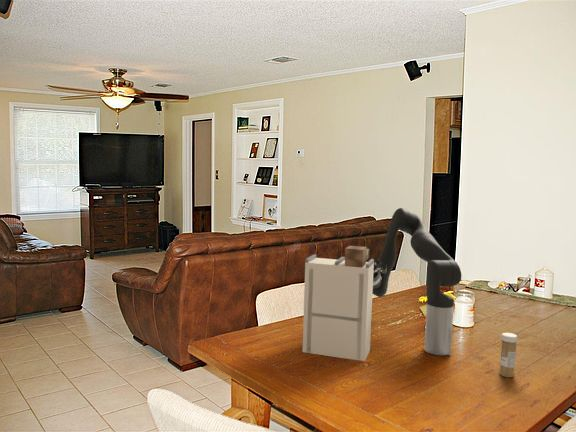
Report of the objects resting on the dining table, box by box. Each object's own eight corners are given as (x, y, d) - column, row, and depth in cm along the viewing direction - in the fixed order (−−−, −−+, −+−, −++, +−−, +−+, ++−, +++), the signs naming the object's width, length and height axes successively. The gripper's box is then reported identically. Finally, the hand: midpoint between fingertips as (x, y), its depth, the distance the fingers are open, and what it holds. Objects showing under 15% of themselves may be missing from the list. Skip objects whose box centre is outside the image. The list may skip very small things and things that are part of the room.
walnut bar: (372, 257, 191) (373, 241, 190) (362, 267, 171) (363, 249, 170) (356, 256, 193) (357, 240, 192) (344, 266, 173) (345, 248, 172)
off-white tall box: (369, 350, 183) (374, 259, 180) (364, 361, 173) (368, 264, 170) (310, 342, 190) (313, 254, 187) (302, 352, 180) (305, 259, 177)
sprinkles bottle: (496, 372, 167) (499, 332, 165) (509, 372, 167) (512, 332, 166) (503, 378, 162) (506, 336, 161) (517, 377, 163) (520, 336, 161)
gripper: (354, 264, 213) (349, 249, 199) (389, 267, 209) (385, 252, 195) (352, 281, 210) (346, 268, 196) (387, 284, 206) (383, 271, 192)
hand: (366, 260), depth 195 cm, fingers open, 8 cm apart
